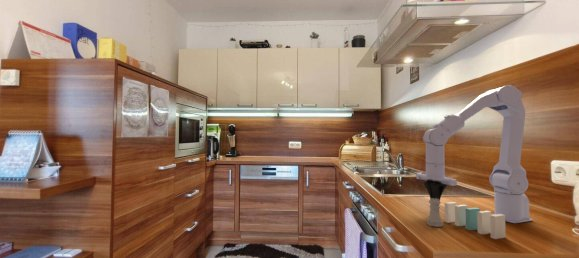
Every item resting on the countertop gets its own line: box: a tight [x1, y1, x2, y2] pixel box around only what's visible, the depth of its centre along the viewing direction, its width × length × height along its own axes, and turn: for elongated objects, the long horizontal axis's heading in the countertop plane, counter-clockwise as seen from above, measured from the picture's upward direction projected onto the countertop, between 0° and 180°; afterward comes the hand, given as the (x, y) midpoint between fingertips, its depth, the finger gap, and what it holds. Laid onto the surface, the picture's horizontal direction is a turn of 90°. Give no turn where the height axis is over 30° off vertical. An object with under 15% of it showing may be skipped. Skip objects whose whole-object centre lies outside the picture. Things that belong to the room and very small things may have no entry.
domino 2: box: [454, 204, 469, 227], centre depth 81 cm, size 4×1×6 cm, turn 109°
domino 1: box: [444, 201, 458, 224], centre depth 85 cm, size 4×1×6 cm, turn 109°
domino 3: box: [465, 207, 481, 231], centre depth 78 cm, size 4×1×6 cm, turn 104°
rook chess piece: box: [426, 197, 444, 228], centre depth 81 cm, size 4×4×8 cm
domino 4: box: [477, 210, 493, 235], centre depth 75 cm, size 4×1×6 cm, turn 109°
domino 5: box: [490, 214, 506, 240], centre depth 71 cm, size 4×1×6 cm, turn 109°
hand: (435, 203), depth 90 cm, fingers closed
